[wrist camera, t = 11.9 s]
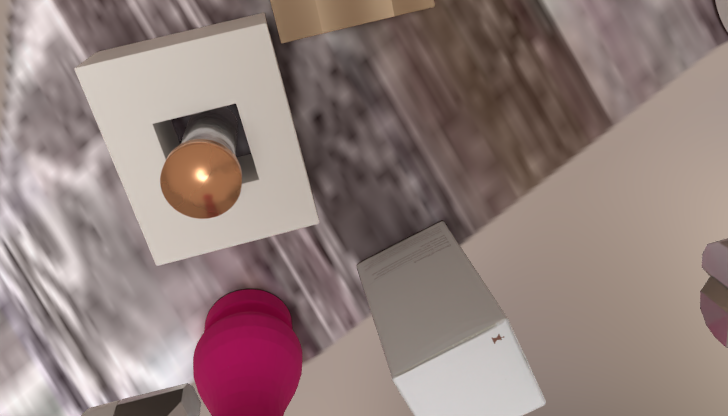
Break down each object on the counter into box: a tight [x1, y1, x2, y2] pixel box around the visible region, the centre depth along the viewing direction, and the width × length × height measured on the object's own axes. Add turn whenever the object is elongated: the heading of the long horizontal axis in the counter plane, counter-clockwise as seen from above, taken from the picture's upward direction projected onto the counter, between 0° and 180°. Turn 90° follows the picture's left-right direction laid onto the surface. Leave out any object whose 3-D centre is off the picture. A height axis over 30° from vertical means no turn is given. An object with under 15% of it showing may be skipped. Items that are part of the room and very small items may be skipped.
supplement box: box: [357, 221, 546, 416], centre depth 39 cm, size 7×7×13 cm
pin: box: [160, 106, 242, 219], centre depth 33 cm, size 4×4×10 cm
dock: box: [74, 13, 319, 266], centre depth 36 cm, size 10×12×5 cm
